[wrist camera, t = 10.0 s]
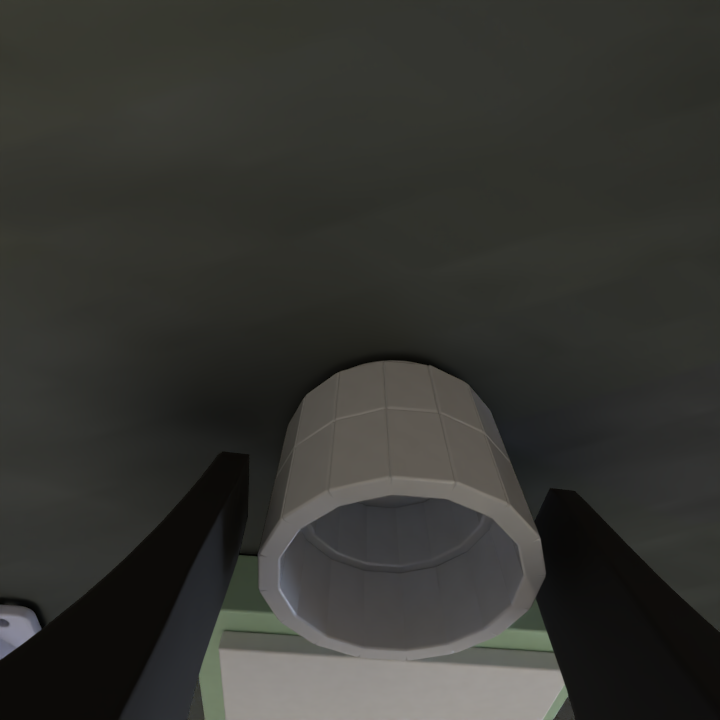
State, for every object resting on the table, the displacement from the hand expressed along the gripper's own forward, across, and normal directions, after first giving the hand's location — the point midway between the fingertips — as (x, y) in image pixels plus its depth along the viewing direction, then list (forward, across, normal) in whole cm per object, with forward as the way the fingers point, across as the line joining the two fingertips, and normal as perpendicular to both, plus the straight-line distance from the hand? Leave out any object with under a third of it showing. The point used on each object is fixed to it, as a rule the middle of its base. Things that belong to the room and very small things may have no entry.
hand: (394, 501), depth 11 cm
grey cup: (+2, 0, 0) cm, 2 cm away
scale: (+2, -2, +12) cm, 12 cm away
